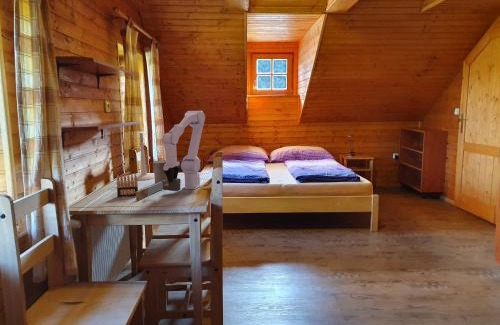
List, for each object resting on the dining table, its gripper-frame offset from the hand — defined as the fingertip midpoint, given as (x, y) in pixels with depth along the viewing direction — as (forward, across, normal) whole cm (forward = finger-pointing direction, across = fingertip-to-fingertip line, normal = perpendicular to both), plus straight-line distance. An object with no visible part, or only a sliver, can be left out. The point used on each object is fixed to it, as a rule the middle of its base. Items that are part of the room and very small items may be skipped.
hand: (172, 181), depth 202 cm
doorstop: (+5, 0, -1) cm, 5 cm away
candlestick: (+7, -35, -39) cm, 53 cm away
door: (+7, -1, -12) cm, 13 cm away
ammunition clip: (+7, +9, -22) cm, 25 cm away
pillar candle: (+7, -23, -19) cm, 31 cm away
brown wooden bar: (+7, 0, -12) cm, 14 cm away
